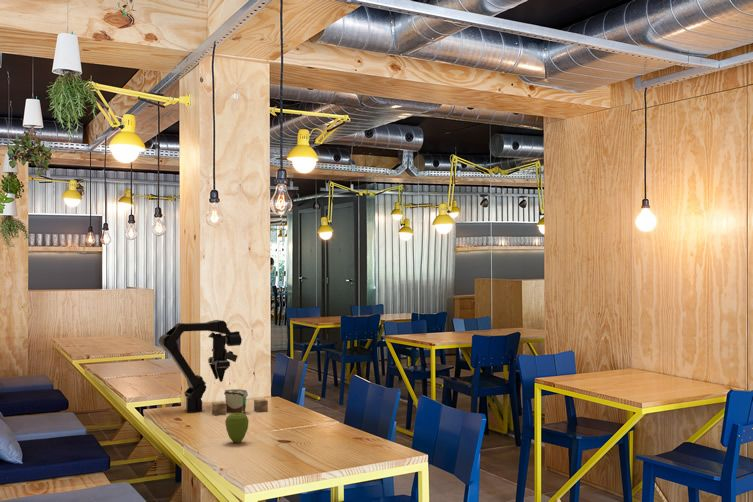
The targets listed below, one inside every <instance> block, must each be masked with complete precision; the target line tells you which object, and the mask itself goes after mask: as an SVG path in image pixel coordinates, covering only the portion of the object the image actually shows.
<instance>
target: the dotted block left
mask: <svg viewBox="0 0 753 502" xmlns="http://www.w3.org/2000/svg"><path fill="white" fill-rule="evenodd" d="M211 408H212V410H211V411H212V412H211V414H212V415H213V416H215V417H216V416H226V414H227V413H226V402H224V401H217V402H212V407H211Z"/></svg>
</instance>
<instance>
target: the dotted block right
mask: <svg viewBox="0 0 753 502" xmlns="http://www.w3.org/2000/svg"><path fill="white" fill-rule="evenodd" d="M253 411H254V412H255V413H267V412H268V411H269V401H268V400H267V399H265V398H262V399H261V398H260V399H254V400H253Z"/></svg>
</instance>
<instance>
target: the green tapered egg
mask: <svg viewBox="0 0 753 502" xmlns="http://www.w3.org/2000/svg"><path fill="white" fill-rule="evenodd" d="M248 418H249V417H248V416H247V415H246V413H245V414H244V413H229V415H228V416H226V419H225V423H224V424H225V428H226V429H225V430H226V432H227V435H228V438H229V439H230V440H231V441H232V442H233V443H238V444H239V443H242V442H243V440H244V438H245V436H246V434H247V431H248V430H249V429H248V428H249V423H250V422H249V419H248Z"/></svg>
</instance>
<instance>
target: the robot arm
mask: <svg viewBox="0 0 753 502" xmlns="http://www.w3.org/2000/svg"><path fill="white" fill-rule="evenodd" d="M205 331H208V332H210V334H209V335H208V338H210V339H212V348H211V352H212V356H210V357H208V359H207V360H208V361H207V363H208V365H209V367H210V369H211V371H212V374H213V376H214V379H215V380H219V382H220V383H222V382H223V380H224V377H225V373H226V371H227V370H228V369H229V367H230V366H231V362H230V361H232V362H235V363H236V362H237V359H238V354H235V353H234V352H233V351H232V350H227V349H226V346H227V347H236V346H238V347H239V346H241V345H242V341H243V338H242V335H241V334H240V331H237V330H235V331H231V330H230V329H229V327H228V325H227V322H226V321H225V320H222V319H221V320H220V319H215V320H210V321H206V322H177V323H175V325H174V326H173V327H172V328H170V329H169V330H168V331H167V332H166V333H165V334H162V335H161V336H159V338H158V344H159V345H160V347H162V348H163V350H164V351H165V352H167V353H168V354H169V356H170V357H171V358H172V360H173V361H174V363H175V364H176V365H177V367H178V369H179V370H180V372H181V373H182V374H183V376H184V378H185V379H186V383H187V386H188V388H187V389H186V390H184V396H185V411H186V413H200V412H203V400H202V398H203V396H204V393H205V392H206V390H207V385H206V384H207V382H205V380H204V378H203V377H202V376H201V375H198V374H195V372H194V371H193V369H192V368H191V366H190V364H189V362H187V361H186V359H185V357H184V356H183V353H182V352H180V349H179V348H180V347H179V344H178V342H177V341H178V340H179V338H181V336H182V334H183V333H184V332H205Z"/></svg>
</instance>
